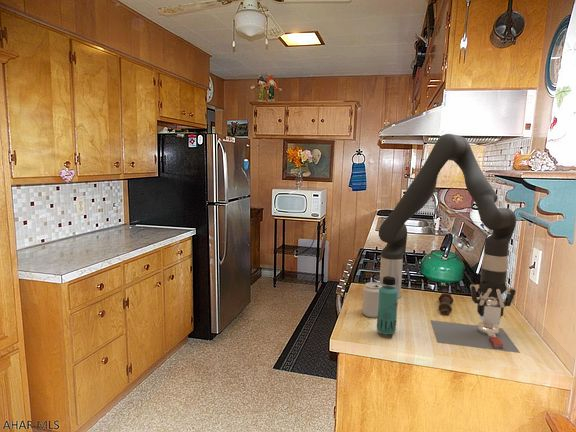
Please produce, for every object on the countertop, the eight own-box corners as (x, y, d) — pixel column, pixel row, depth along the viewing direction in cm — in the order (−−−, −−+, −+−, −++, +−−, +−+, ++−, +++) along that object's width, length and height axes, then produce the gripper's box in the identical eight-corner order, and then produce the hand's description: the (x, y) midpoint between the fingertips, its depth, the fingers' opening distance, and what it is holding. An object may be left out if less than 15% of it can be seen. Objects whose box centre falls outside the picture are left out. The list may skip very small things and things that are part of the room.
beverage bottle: (376, 337, 125) (380, 279, 123) (375, 329, 132) (378, 273, 129) (397, 339, 125) (400, 281, 122) (394, 330, 131) (397, 275, 128)
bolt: (441, 321, 145) (443, 307, 158) (454, 317, 142) (455, 303, 156) (434, 307, 145) (436, 294, 158) (447, 303, 143) (448, 290, 156)
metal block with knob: (483, 323, 127) (485, 300, 126) (479, 317, 132) (481, 295, 131) (499, 324, 126) (501, 301, 125) (495, 319, 131) (497, 296, 130)
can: (380, 319, 140) (382, 288, 138) (360, 316, 143) (362, 286, 141) (382, 312, 147) (384, 282, 145) (363, 309, 150) (364, 280, 148)
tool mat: (437, 344, 122) (437, 342, 122) (430, 322, 139) (430, 320, 139) (520, 355, 116) (520, 352, 116) (502, 330, 133) (502, 328, 133)
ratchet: (486, 347, 119) (488, 331, 118) (475, 327, 134) (476, 313, 133) (509, 350, 118) (511, 334, 117) (495, 329, 132) (496, 315, 131)
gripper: (514, 266, 129) (509, 314, 131) (468, 263, 132) (464, 309, 134) (522, 272, 121) (516, 322, 124) (473, 268, 125) (469, 317, 127)
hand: (489, 315), depth 129 cm, fingers closed on metal block with knob, 5 cm apart
